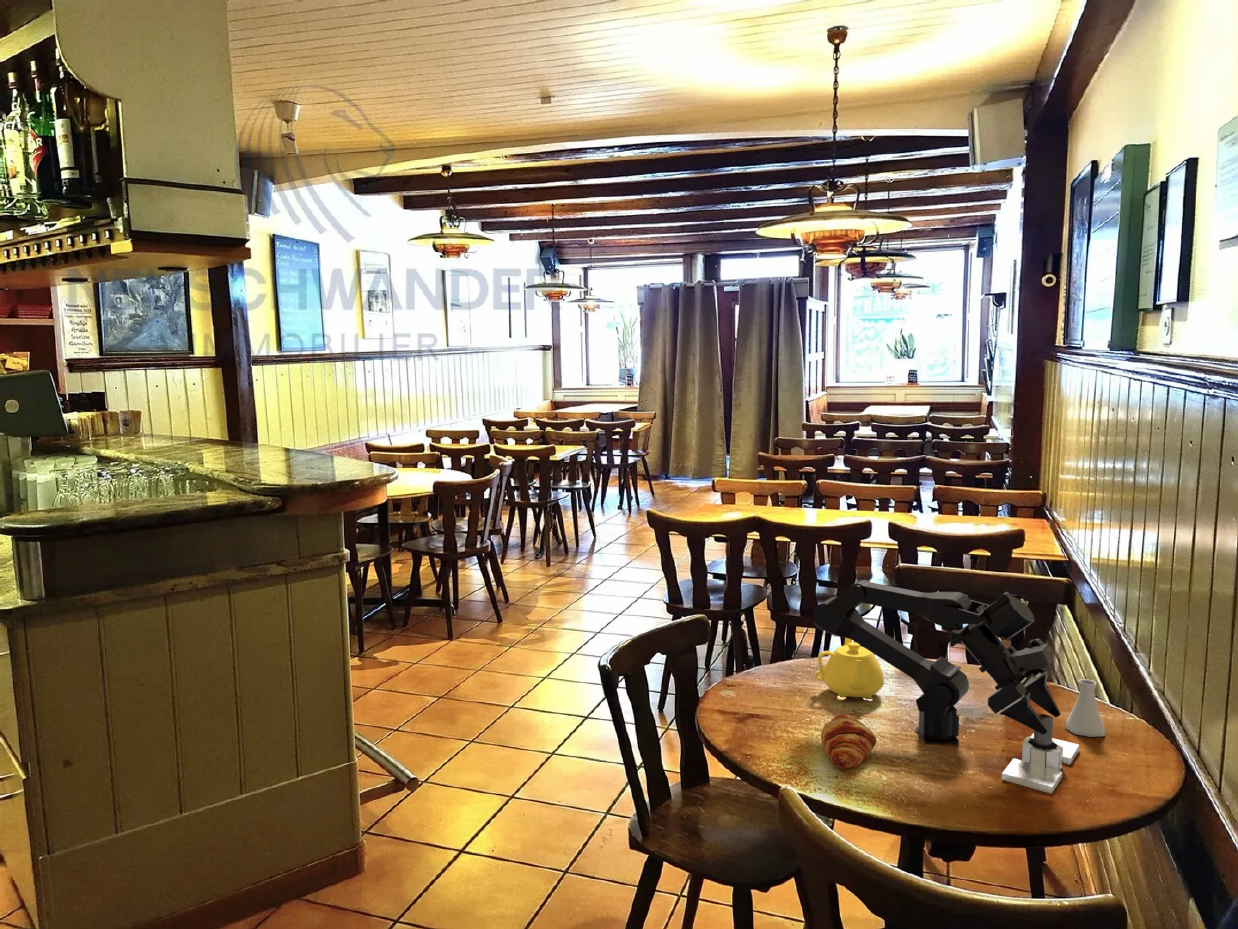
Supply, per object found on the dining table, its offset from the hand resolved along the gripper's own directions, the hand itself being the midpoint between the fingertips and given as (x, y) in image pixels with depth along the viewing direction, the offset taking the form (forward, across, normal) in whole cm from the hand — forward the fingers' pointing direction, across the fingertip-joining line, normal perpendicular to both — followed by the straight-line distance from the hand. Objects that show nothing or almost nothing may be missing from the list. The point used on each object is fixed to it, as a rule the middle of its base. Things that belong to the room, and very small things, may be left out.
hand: (1052, 724), depth 154 cm
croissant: (-16, -16, +28) cm, 36 cm away
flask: (+7, +21, +5) cm, 22 cm away
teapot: (-25, +10, +36) cm, 45 cm away
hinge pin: (+5, 0, +7) cm, 8 cm away
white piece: (+5, 0, +7) cm, 8 cm away
